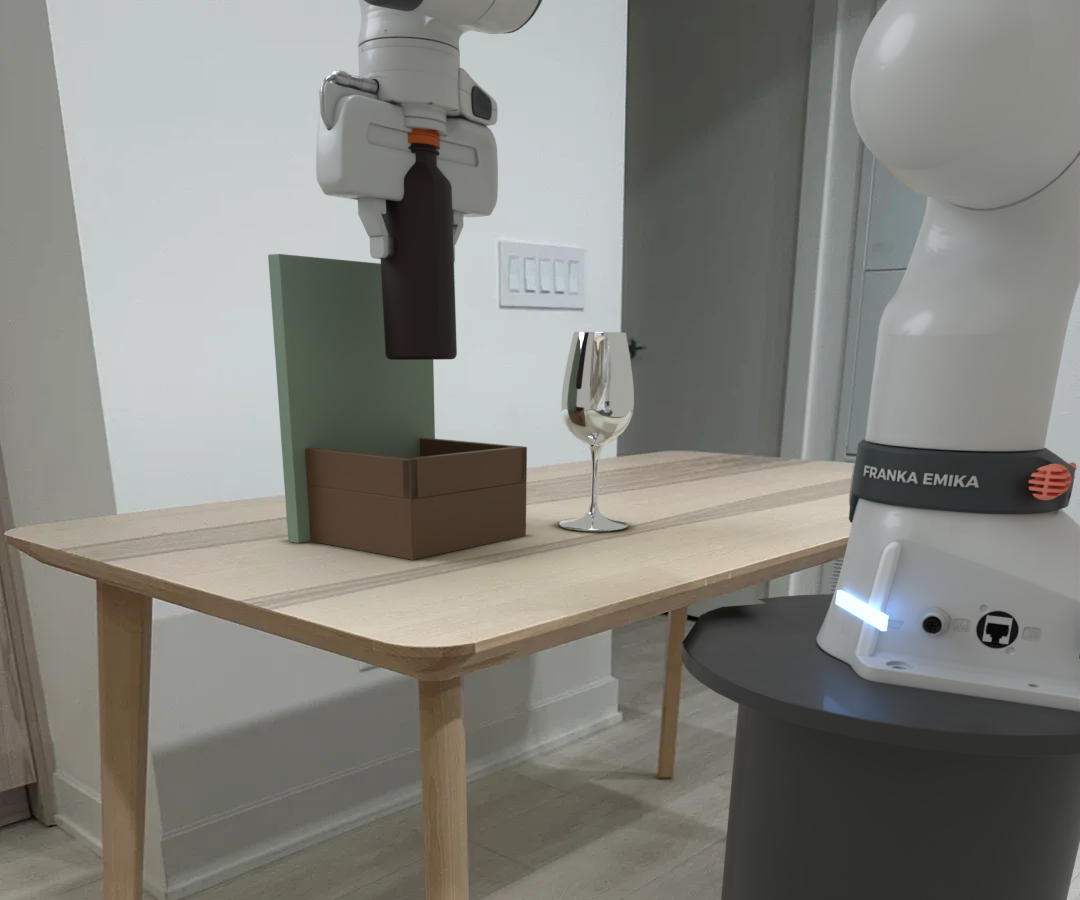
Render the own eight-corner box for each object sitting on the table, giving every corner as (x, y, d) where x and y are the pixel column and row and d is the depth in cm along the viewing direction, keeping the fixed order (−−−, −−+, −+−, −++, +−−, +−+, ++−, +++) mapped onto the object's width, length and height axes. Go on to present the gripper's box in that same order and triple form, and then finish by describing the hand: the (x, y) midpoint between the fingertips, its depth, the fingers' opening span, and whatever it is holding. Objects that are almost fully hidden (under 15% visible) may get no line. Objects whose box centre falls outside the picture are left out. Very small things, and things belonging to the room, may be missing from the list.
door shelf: (534, 533, 107) (538, 264, 98) (401, 562, 92) (390, 247, 83) (426, 517, 116) (420, 268, 107) (288, 541, 101) (267, 254, 92)
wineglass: (635, 523, 114) (644, 333, 107) (619, 534, 107) (628, 332, 100) (569, 518, 116) (573, 332, 109) (549, 529, 109) (552, 331, 102)
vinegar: (379, 359, 99) (366, 126, 92) (447, 359, 101) (439, 131, 94) (393, 359, 93) (380, 109, 86) (465, 359, 95) (458, 115, 88)
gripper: (346, 59, 80) (355, 251, 85) (509, 107, 95) (508, 268, 100) (293, 70, 83) (304, 254, 88) (459, 114, 99) (460, 269, 103)
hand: (414, 261), depth 94 cm, fingers closed on vinegar, 7 cm apart
